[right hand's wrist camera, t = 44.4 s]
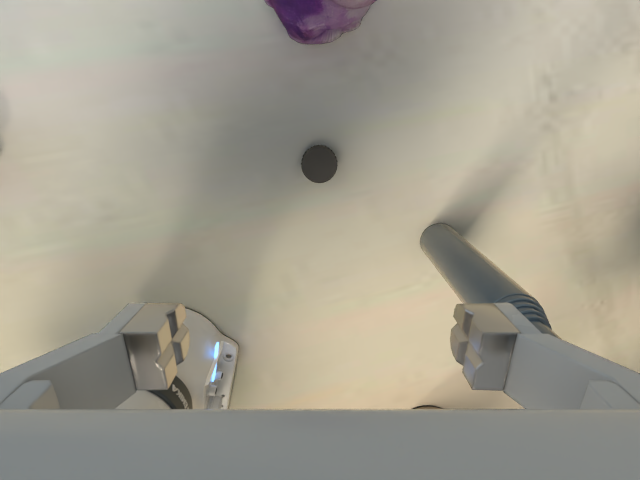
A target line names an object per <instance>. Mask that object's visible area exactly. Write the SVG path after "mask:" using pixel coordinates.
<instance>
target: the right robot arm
mask: <svg viewBox="0 0 640 480" xmlns="http://www.w3.org/2000/svg"><path fill="white" fill-rule="evenodd" d="M453 317H454V318H455V320H456V322H457V324H456V325H455V326H454V327H453V328H452V329H451V336H450V343H451V350H452V353H453V356H454V358H455V360H456V361H457V362H458V363H460V364H461V365H463V374H464V376H465V378H466V379H467V381H468V383H469V385H470V387H471V388H472V390H503V391H504V393H506V394H507V395H508V396H510V397H511V398H512V399H513V400H515V401H516V402H517V403H519V404H520V405H521V406H522V407H524V408H525V409H228V406H229V401H230V395H231V390H232V384H233V379H234V373H235V367H236V362H237V356H238V351H239V346H238V344H237V343H236V342H235V341H233V340H231V339H230V338H228V337H226V336H224V335H223V334H221V333H220V332H219V330H218V329H217V328H216V327H215V326H214V325H213V324H212V323H211V322H210V321H209V320H208V319H207V318H205V317H204V316H202V315H201V314H199V313H197V312H195V311H192V310H189V309H186V308H185V306H184V305H183V304H181V303H129V304H128V305H127V306H126V307H125V308H124V309H123V310H122V311H120V312H119V313H118V314H117V315H116V316H115V317H114V318H113V319H112V320H111V321H110V322H109V323H108V324H107V325H106V326H105V327H104V328H103V329H102V330H101V331H100V332H99V333H98V334H90V335H88V336H86V337H83V338H81V339H79V340H76V341H74V342H72V343H69V344H67V345H65V346H63V347H60V348H58V349H56V350H53V351H51V352H49V353H46V354H44V355H42V356H39V357H37V358H35V359H32V360H30V361H28V362H26V363H23V364H21V365H19V366H16V367H14V368H12V369H9V370H7V371H5V372H2V373H0V480H640V373H637V372H635V371H633V370H630V369H628V368H626V367H623V366H621V365H619V364H617V363H614V362H612V361H610V360H607V359H605V358H603V357H600V356H598V355H596V354H594V353H591V352H589V351H587V350H584V349H582V348H580V347H577V346H575V345H573V344H570V343H568V342H566V341H564V340H561V339H559V338H557V337H554V336H552V335H550V334H542V333H541V332H540V331H539V330H538V329H537V328H536V327H535V326H534V325H533V324H532V323H531V322H530V321H529V320H528V319H527V318H526V317H525V316H524V315H523V314H522V313H521V312H520V311H519V310H518V309H517V308H515V307H514V306H513V305H512V304H510V303H508V302H507V303H474V304H457V305H456V307H455V309H454V315H453ZM227 354H230V355H231V356H229V355H227Z"/></svg>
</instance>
